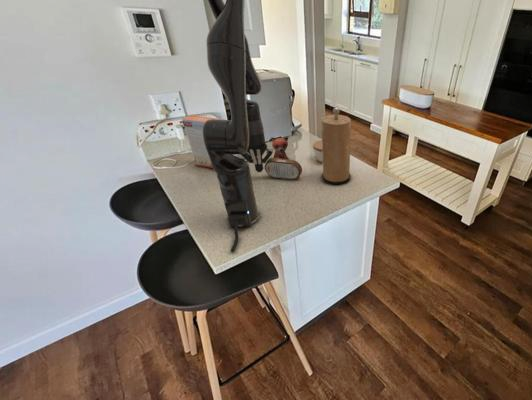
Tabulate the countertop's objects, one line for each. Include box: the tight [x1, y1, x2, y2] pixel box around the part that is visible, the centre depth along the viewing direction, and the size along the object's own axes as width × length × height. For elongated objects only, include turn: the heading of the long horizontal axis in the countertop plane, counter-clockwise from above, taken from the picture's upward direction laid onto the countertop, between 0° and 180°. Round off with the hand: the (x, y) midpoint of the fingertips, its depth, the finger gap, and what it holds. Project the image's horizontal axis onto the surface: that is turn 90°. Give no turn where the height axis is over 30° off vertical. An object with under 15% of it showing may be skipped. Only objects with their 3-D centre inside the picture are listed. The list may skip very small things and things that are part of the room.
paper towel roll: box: [321, 106, 352, 186], centre depth 110 cm, size 12×12×30 cm
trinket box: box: [312, 139, 323, 164], centre depth 129 cm, size 11×11×9 cm
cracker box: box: [181, 114, 222, 169], centre depth 116 cm, size 14×6×21 cm, turn 74°
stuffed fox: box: [270, 136, 290, 159], centre depth 126 cm, size 8×11×12 cm
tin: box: [264, 157, 303, 181], centre depth 114 cm, size 15×3×8 cm, turn 84°
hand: (259, 171), depth 114 cm, fingers closed
